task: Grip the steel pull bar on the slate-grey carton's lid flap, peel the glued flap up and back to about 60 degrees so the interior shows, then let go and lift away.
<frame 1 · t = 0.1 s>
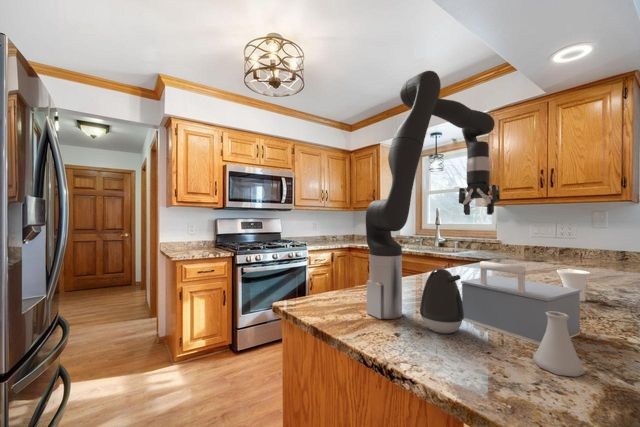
hand: (478, 214, 108), 29 cm above the worktop, fingers open, 8 cm apart
pump dispenser: (441, 330, 73), on the worktop
lid flap: (516, 274, 76), point 13 cm above the worktop, hinge at 0.0°
flask: (557, 368, 55), on the worktop
carton: (517, 326, 76), on the worktop
cup: (573, 299, 102), on the worktop
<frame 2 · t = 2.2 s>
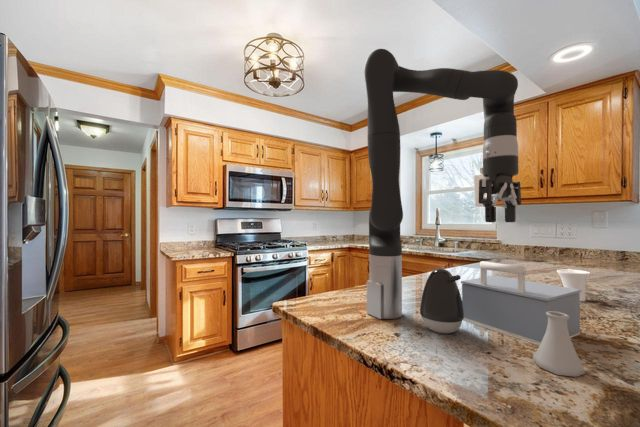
hand: (500, 222, 73), 27 cm above the worktop, fingers open, 8 cm apart
nothing on the worktop moved.
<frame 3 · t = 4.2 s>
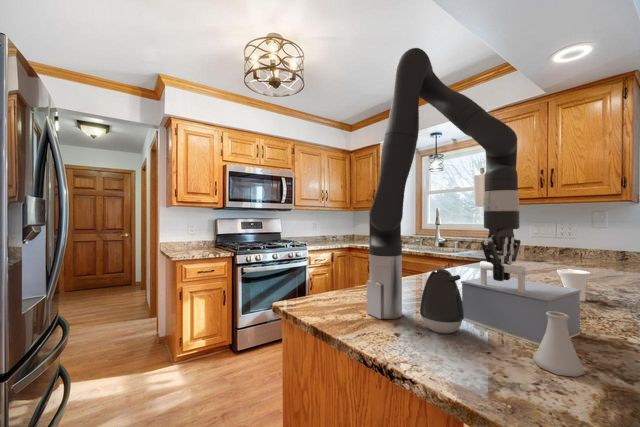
hand: (501, 279, 72), 13 cm above the worktop, fingers closed on lid flap, 2 cm apart
lid flap: (516, 274, 76), point 13 cm above the worktop, hinge at 0.0°, touching gripper
everything else where it was.
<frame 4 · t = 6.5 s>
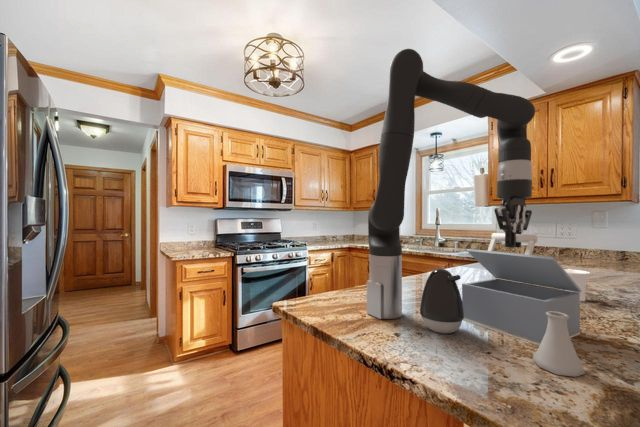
hand: (513, 247, 75), 20 cm above the worktop, fingers closed on lid flap, 2 cm apart
lid flap: (523, 259, 77), point 17 cm above the worktop, hinge at 32.8°, touching gripper
everything else where it was.
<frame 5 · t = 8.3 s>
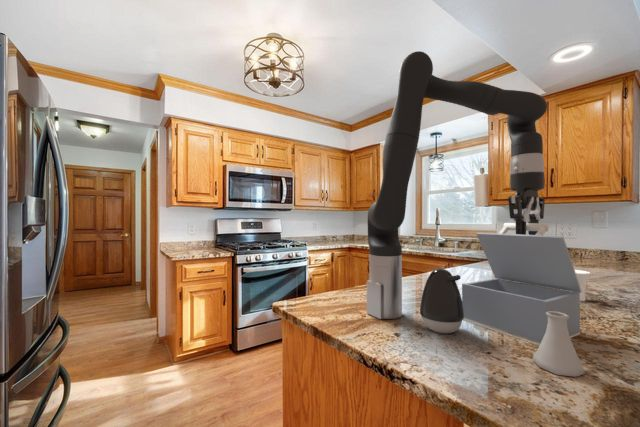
hand: (527, 235, 79), 23 cm above the worktop, fingers open, 6 cm apart
lid flap: (529, 253, 79), point 18 cm above the worktop, hinge at 55.7°
everything else where it was.
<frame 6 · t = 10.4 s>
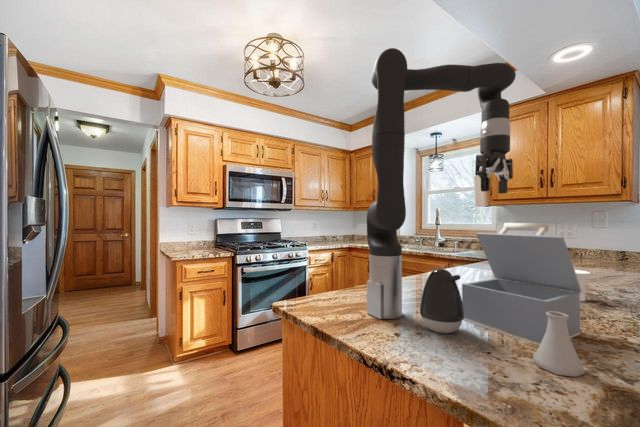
hand: (494, 192, 85), 35 cm above the worktop, fingers open, 8 cm apart
nothing on the worktop moved.
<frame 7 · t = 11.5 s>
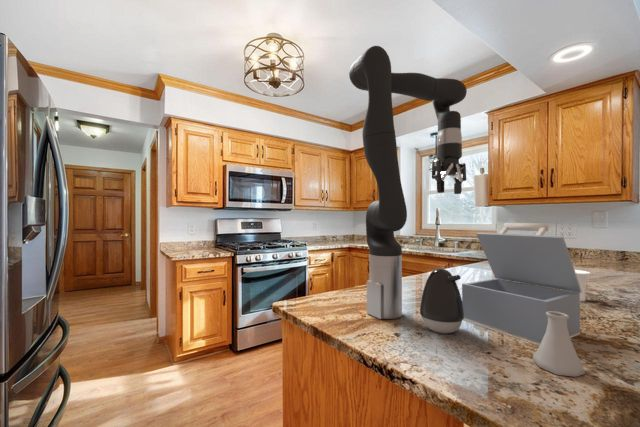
hand: (449, 193, 97), 36 cm above the worktop, fingers open, 8 cm apart
nothing on the worktop moved.
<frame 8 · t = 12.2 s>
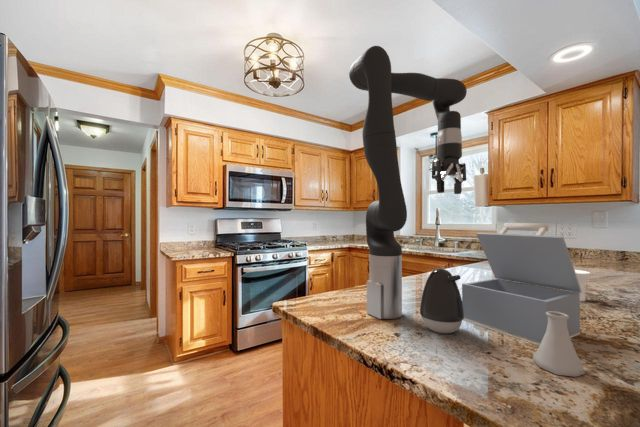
hand: (449, 193, 97), 36 cm above the worktop, fingers open, 8 cm apart
nothing on the worktop moved.
at the end: lid flap at +56° (first picture: +0°); the gripper is holding nothing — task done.
